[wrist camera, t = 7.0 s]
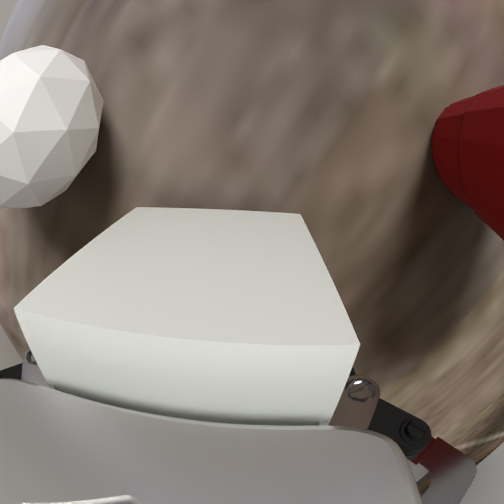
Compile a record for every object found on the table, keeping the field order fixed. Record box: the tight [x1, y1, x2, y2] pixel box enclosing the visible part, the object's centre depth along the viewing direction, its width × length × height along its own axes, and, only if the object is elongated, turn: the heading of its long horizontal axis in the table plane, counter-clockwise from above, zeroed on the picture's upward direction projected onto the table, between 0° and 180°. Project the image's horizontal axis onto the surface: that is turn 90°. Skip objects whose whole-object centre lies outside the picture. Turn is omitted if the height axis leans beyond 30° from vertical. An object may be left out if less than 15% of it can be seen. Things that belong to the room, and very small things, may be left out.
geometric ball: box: [0, 45, 104, 208], centre depth 9 cm, size 8×8×8 cm
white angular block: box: [13, 207, 360, 426], centre depth 11 cm, size 8×8×9 cm
